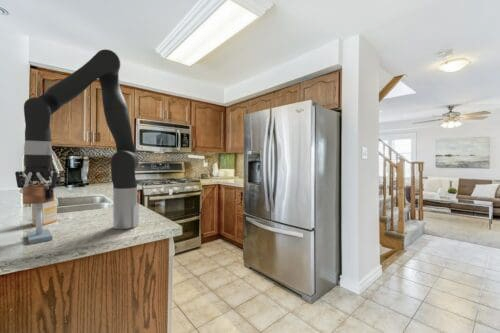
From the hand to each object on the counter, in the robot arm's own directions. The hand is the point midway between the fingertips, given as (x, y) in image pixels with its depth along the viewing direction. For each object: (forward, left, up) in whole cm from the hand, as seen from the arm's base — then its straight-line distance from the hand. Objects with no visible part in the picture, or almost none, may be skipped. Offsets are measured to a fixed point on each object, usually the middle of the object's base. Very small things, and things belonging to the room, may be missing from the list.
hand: (38, 199), depth 84 cm
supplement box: (+13, -21, -15) cm, 29 cm away
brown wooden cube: (0, 0, -1) cm, 1 cm away
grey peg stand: (0, 0, -14) cm, 14 cm away
